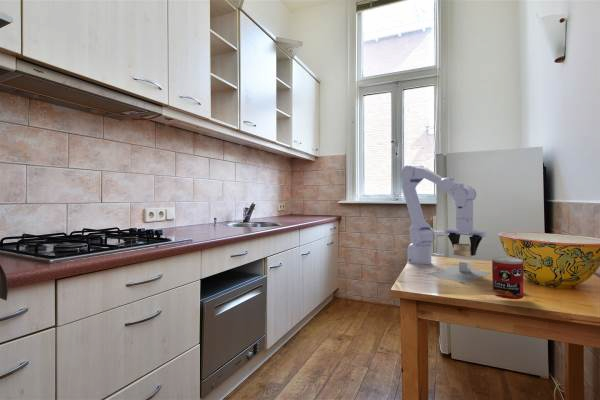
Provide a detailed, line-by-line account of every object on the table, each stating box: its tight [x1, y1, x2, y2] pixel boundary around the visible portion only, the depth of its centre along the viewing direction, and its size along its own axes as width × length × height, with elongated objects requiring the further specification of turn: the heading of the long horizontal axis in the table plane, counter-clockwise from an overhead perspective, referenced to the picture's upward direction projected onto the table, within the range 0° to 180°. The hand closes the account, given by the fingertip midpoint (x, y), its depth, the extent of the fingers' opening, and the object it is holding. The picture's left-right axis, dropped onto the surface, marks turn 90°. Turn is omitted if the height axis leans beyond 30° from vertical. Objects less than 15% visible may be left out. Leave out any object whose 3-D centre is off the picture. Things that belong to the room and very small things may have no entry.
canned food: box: [491, 256, 524, 300], centre depth 90 cm, size 8×8×11 cm
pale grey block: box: [458, 260, 472, 273], centre depth 113 cm, size 3×3×4 cm
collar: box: [453, 242, 476, 258], centre depth 113 cm, size 6×6×4 cm
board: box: [426, 265, 491, 283], centre depth 110 cm, size 14×20×1 cm
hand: (464, 253), depth 113 cm, fingers closed on collar, 6 cm apart
